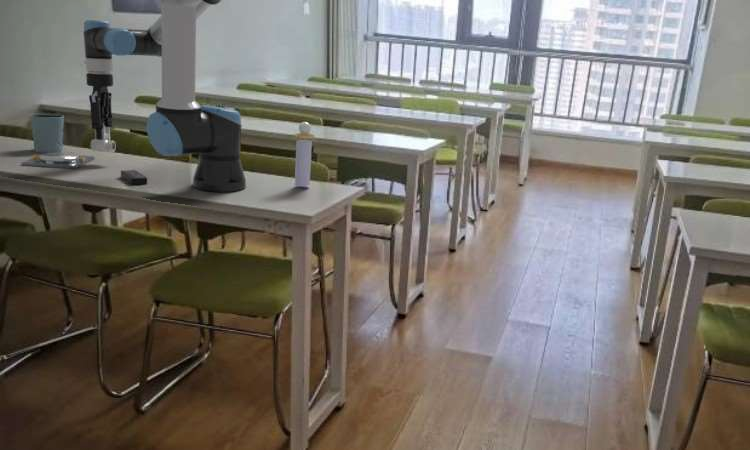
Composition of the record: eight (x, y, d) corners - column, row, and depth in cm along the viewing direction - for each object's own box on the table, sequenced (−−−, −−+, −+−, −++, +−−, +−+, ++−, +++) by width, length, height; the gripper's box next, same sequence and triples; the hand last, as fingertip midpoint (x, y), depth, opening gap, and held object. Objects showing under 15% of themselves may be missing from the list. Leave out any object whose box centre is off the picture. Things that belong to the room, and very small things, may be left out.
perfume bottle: (303, 190, 195) (306, 123, 190) (288, 187, 198) (291, 121, 193) (315, 187, 200) (318, 122, 194) (300, 184, 203) (304, 120, 197)
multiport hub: (132, 186, 185) (131, 178, 185) (120, 178, 194) (120, 170, 193) (147, 185, 188) (147, 177, 187) (135, 177, 196) (135, 169, 196)
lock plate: (76, 168, 199) (75, 162, 199) (21, 165, 198) (21, 158, 197) (94, 158, 214) (94, 152, 214) (44, 155, 213) (43, 149, 213)
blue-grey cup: (25, 150, 218) (22, 114, 215) (48, 146, 228) (46, 112, 224) (50, 154, 216) (48, 118, 212) (72, 150, 225) (70, 115, 222)
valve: (109, 154, 203) (107, 115, 200) (88, 153, 203) (86, 114, 200) (118, 151, 210) (116, 113, 207) (97, 150, 210) (95, 112, 207)
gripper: (96, 71, 208) (100, 144, 214) (76, 73, 192) (81, 152, 198) (120, 72, 209) (123, 145, 215) (102, 74, 192) (106, 153, 198)
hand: (103, 148), depth 206 cm, fingers closed on valve, 4 cm apart
